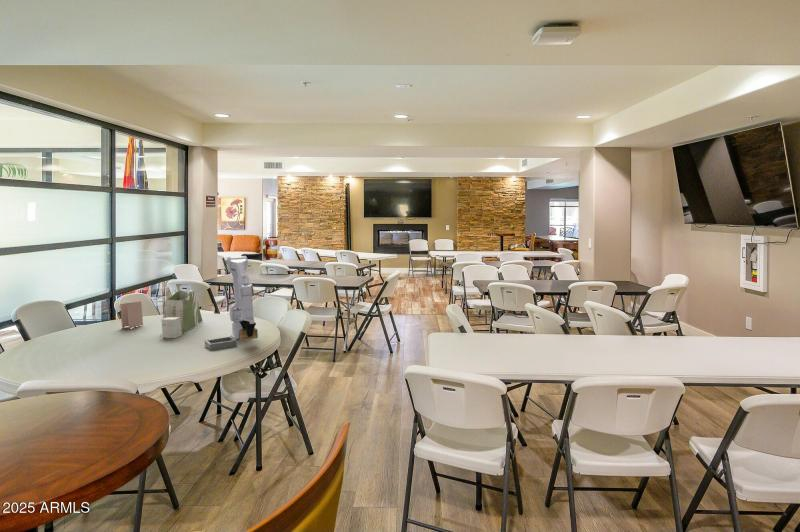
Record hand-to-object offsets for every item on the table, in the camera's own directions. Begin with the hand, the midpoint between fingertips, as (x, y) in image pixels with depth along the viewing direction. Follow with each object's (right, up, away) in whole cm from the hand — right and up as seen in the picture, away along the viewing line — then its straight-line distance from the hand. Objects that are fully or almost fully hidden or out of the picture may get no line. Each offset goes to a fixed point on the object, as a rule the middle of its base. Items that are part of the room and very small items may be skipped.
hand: (248, 335), depth 245 cm
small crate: (0, -1, 0) cm, 2 cm away
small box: (-49, -4, +23) cm, 54 cm away
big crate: (-15, -6, +2) cm, 16 cm away
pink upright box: (-83, -2, +47) cm, 95 cm away
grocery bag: (-53, -2, +48) cm, 71 cm away
